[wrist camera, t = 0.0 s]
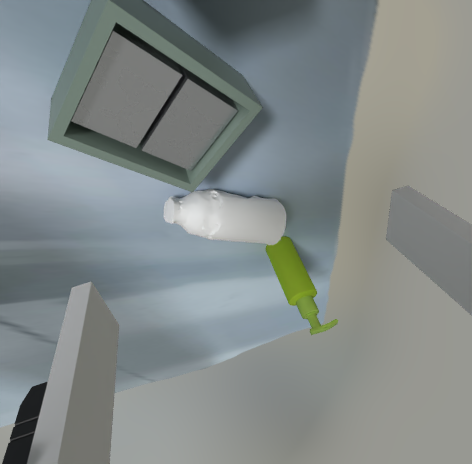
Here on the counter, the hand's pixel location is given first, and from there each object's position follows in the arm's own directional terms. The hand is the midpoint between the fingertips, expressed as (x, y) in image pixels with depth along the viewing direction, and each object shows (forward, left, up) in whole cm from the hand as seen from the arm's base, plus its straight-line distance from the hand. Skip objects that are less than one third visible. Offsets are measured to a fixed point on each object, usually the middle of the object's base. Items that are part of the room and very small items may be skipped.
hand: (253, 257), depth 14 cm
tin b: (+6, +6, -27) cm, 28 cm away
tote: (+6, +3, -28) cm, 29 cm away
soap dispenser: (+23, +43, -28) cm, 56 cm away
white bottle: (+18, +22, -28) cm, 40 cm away
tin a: (+6, -1, -27) cm, 28 cm away
